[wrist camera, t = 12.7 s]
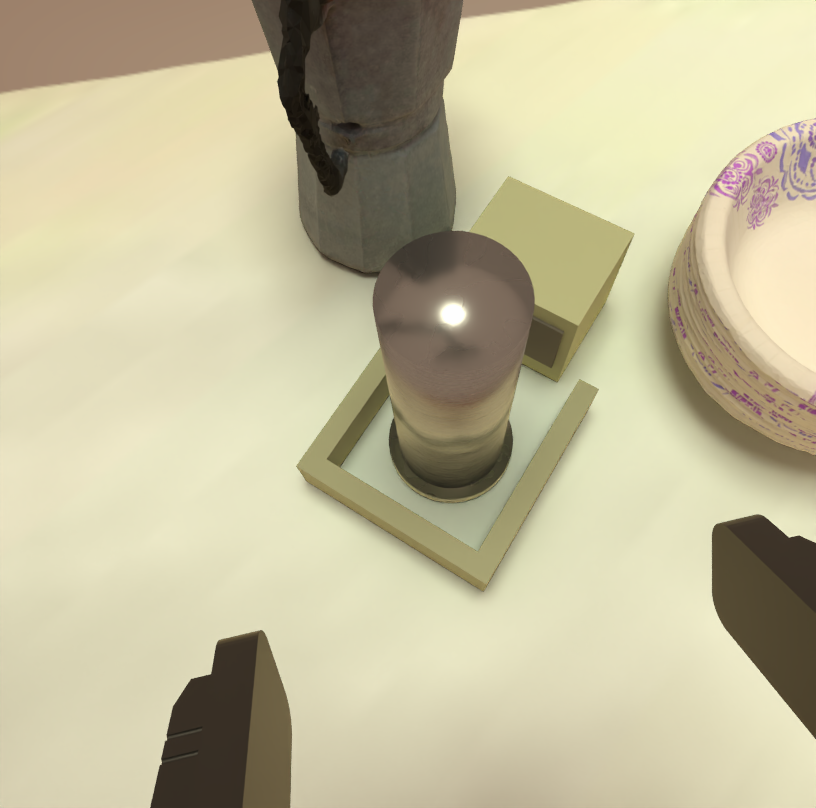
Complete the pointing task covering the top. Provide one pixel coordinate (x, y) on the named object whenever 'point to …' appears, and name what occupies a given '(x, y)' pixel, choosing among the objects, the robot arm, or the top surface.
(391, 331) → the flanged base cylinder
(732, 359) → the paper bowls
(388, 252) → the moka pot
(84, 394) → the top surface
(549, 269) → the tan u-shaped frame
